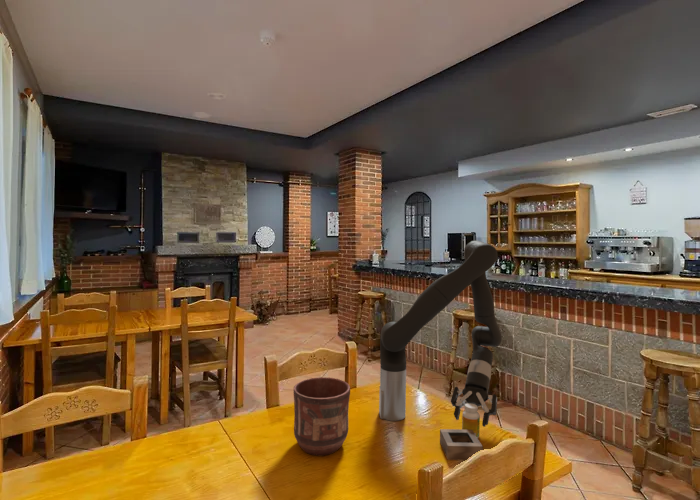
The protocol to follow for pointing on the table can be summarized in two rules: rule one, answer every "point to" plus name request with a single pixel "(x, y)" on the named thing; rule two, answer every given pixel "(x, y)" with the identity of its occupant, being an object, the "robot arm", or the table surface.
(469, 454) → the collar block
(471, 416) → the supplement bottle
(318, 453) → the pottery
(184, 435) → the table surface
